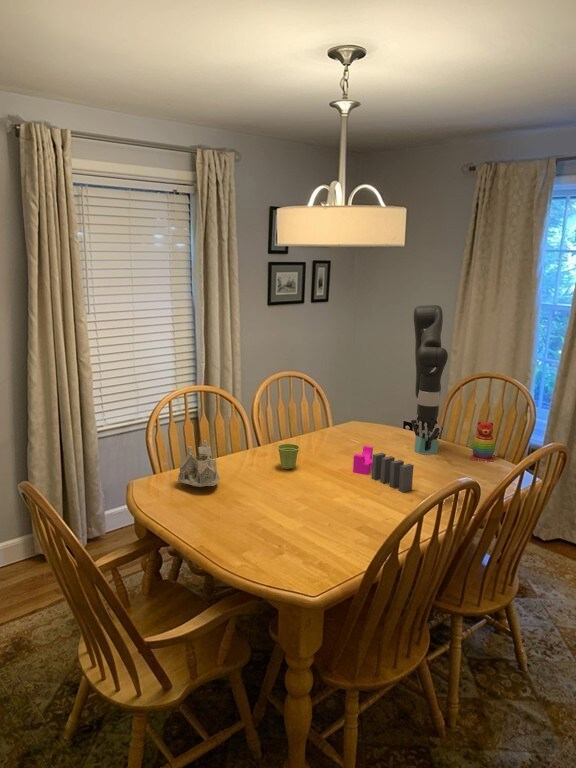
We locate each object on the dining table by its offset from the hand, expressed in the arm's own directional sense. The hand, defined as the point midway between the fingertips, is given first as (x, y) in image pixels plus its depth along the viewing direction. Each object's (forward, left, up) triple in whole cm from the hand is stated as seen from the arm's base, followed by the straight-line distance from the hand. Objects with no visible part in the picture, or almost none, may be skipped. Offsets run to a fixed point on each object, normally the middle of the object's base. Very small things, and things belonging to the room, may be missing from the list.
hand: (424, 449), depth 203 cm
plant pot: (+24, -52, -19) cm, 60 cm away
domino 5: (-6, 0, 0) cm, 6 cm away
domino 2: (0, -18, -19) cm, 26 cm away
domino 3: (0, -13, -19) cm, 23 cm away
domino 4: (0, -8, -19) cm, 20 cm away
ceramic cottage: (+63, -55, -19) cm, 86 cm away
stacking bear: (-55, -15, -19) cm, 60 cm away
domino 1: (0, -23, -19) cm, 30 cm away
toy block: (-3, -34, -19) cm, 39 cm away
